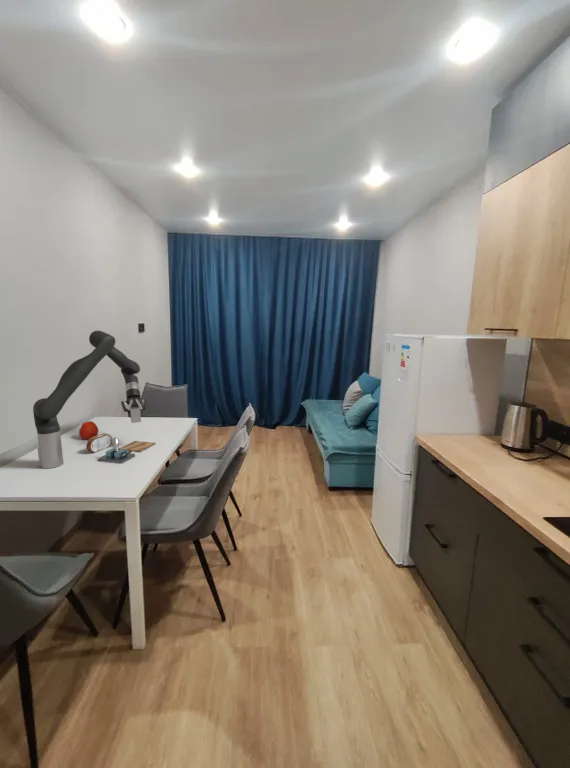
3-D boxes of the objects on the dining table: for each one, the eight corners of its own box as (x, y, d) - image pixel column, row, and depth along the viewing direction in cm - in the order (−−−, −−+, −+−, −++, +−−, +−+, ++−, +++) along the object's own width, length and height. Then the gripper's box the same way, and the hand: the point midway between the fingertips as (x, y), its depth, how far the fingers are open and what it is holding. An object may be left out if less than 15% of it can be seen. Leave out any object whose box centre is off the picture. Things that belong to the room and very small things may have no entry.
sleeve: (131, 423, 192) (130, 408, 191) (130, 420, 197) (129, 407, 195) (141, 421, 195) (140, 408, 193) (140, 419, 199) (139, 406, 198)
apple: (97, 439, 211) (96, 422, 209) (78, 441, 207) (76, 424, 206) (99, 434, 220) (98, 418, 219) (81, 436, 217) (79, 420, 215)
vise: (98, 461, 177) (96, 440, 176) (112, 454, 187) (110, 434, 185) (122, 463, 174) (120, 442, 172) (135, 456, 184) (133, 436, 182)
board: (118, 450, 193) (118, 448, 193) (134, 442, 206) (134, 440, 206) (140, 452, 190) (140, 450, 190) (155, 444, 203) (155, 442, 203)
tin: (109, 445, 201) (108, 431, 200) (113, 446, 200) (112, 431, 199) (86, 454, 187) (85, 439, 186) (91, 454, 186) (89, 439, 185)
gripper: (119, 388, 196) (121, 414, 188) (146, 386, 202) (149, 411, 194) (119, 396, 202) (121, 421, 193) (146, 394, 208) (149, 418, 199)
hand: (135, 416), depth 194 cm, fingers closed on sleeve, 5 cm apart
